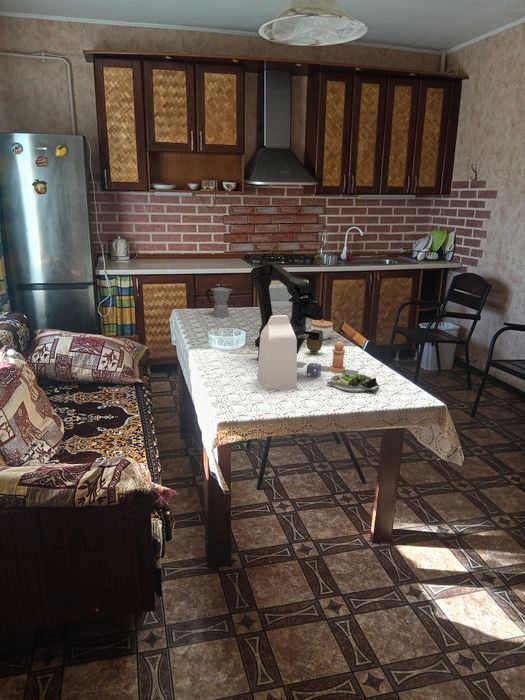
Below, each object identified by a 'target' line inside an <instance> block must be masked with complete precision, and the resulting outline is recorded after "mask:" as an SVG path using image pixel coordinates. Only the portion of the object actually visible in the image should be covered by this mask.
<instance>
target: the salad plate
mask: <svg viewBox="0 0 525 700" xmlns="http://www.w3.org/2000/svg"><path fill="white" fill-rule="evenodd" d="M330 380H331V381H327V382H326V384H327V385H329V386H333V387H334V388H336V389H339V390H342V391H345V392H347V393H373V391H374V392H376V391H378V389H379V388H380V385H379V383H378V382H377V378H376V377H372V376H370V375H366V374H361V373H358V374H353V375H342V374H334V375H333V376H331V378H330Z"/></svg>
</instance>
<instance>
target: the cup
mask: <svg viewBox="0 0 525 700" xmlns="http://www.w3.org/2000/svg"><path fill="white" fill-rule="evenodd" d="M323 341H324V340H323V337H322V338H321V339H320V340H318V341H317V340H311V339H310V338H309V337H308V338H307V339H306V348H307V349H308V350H309V354H310V355H313V356H315V355H318V354H319V351H321V349H322V347H323Z"/></svg>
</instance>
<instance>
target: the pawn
mask: <svg viewBox="0 0 525 700" xmlns="http://www.w3.org/2000/svg"><path fill="white" fill-rule="evenodd" d="M333 347H334V348H333V349H332V350H331V351H332V353H333V354H332V364H331V365H330V366H329V367H330V371H331V372H334V373H333V374H336V373H343V372H345V369H346V366H344V356H345V353H346V349H344V348H345V344H344V342H342V341H341V340H338V341H336V342H335V343H334V346H333Z"/></svg>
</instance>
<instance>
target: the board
mask: <svg viewBox="0 0 525 700" xmlns="http://www.w3.org/2000/svg"><path fill="white" fill-rule="evenodd" d="M309 364H310V363H307V362H303V361H302V362H301V361H297V369H298V368H299V369H303V370H304V369H306V370H307V365H309ZM321 372H325V373H331V374H335V375H353V374H360V371H359V370H352V369H346V368H345V372H343V373H334V372H331V371H330V366H329V365H328V366H327V365H322V364H321Z"/></svg>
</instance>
